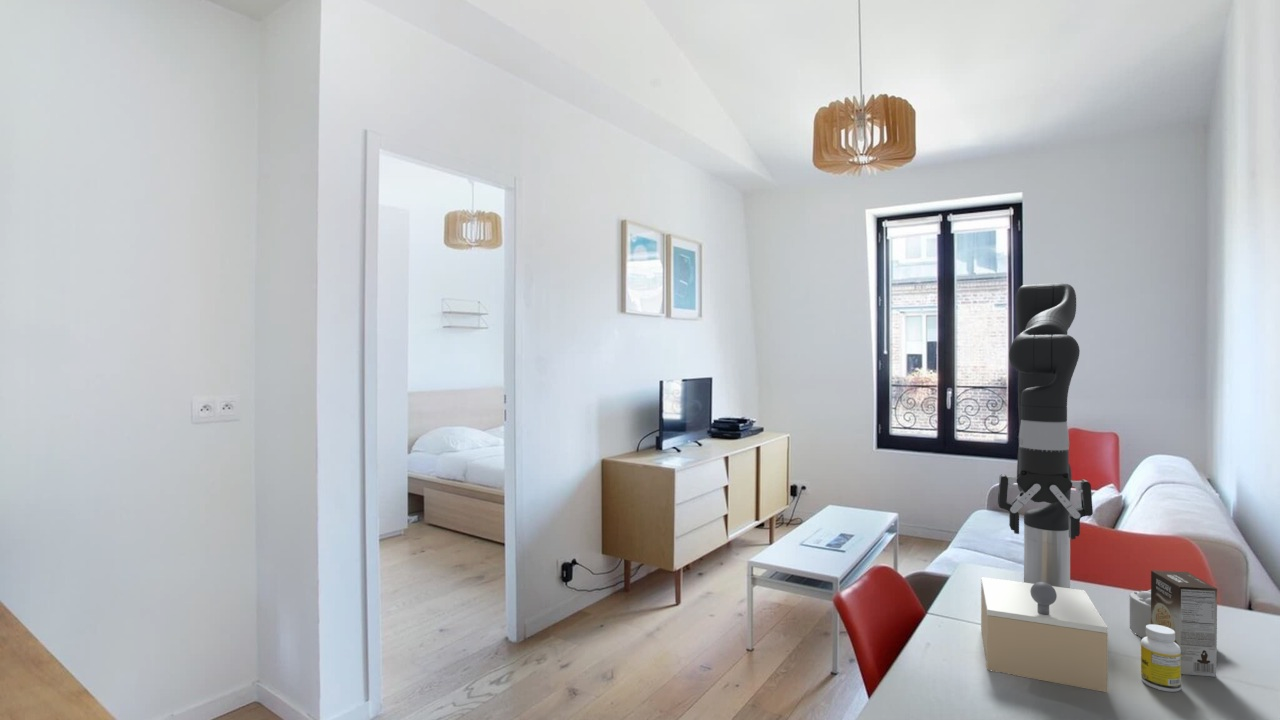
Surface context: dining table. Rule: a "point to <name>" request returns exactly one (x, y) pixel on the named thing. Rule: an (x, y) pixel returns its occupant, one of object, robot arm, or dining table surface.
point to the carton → (1045, 651)
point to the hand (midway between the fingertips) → (1043, 535)
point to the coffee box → (1187, 618)
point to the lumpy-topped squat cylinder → (1140, 612)
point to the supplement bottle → (1160, 659)
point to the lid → (1041, 604)
